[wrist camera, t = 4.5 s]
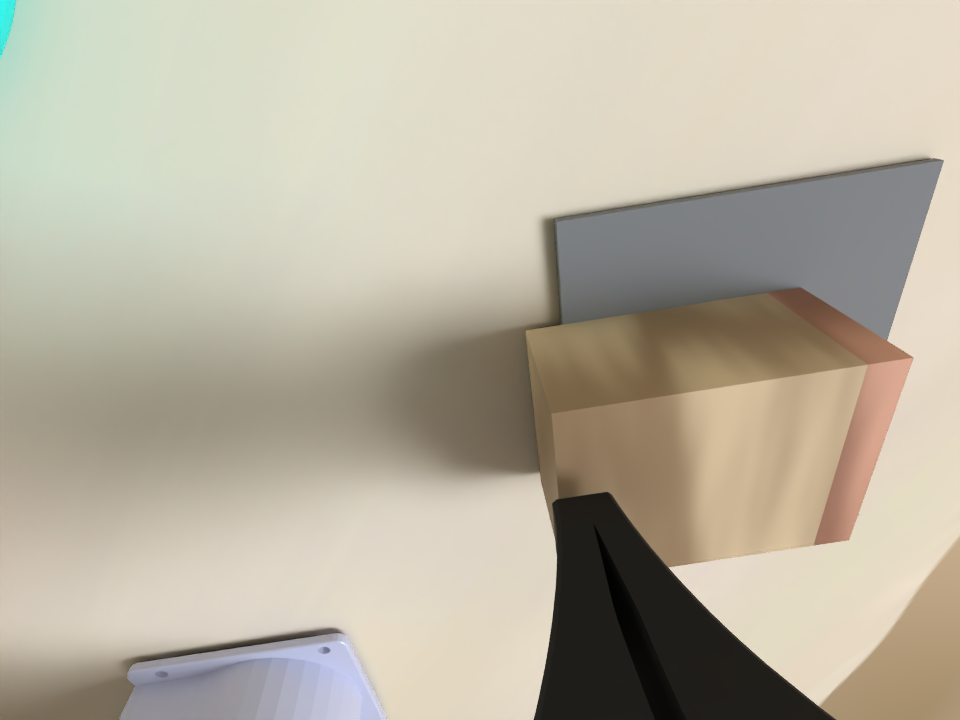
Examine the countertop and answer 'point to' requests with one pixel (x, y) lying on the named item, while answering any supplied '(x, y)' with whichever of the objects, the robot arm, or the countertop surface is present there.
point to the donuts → (5, 21)
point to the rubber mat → (752, 246)
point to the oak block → (717, 420)
